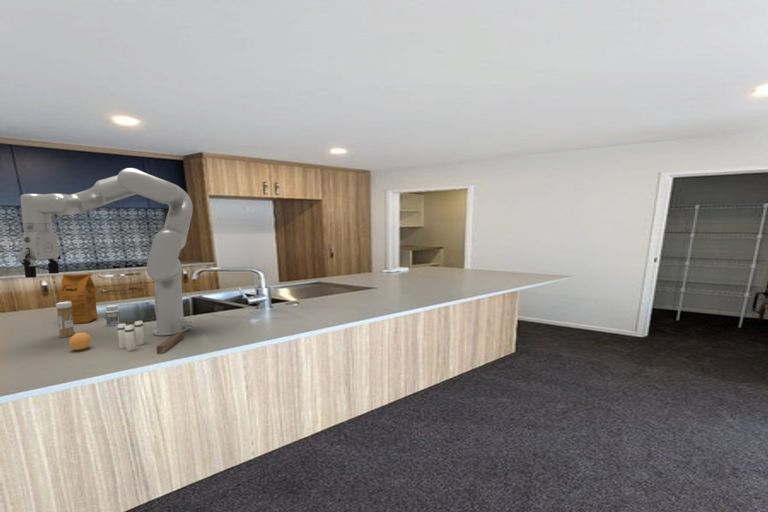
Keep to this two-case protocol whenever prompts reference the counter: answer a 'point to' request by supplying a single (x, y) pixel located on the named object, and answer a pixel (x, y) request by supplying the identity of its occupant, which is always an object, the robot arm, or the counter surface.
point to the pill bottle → (112, 315)
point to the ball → (80, 341)
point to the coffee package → (79, 296)
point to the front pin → (122, 335)
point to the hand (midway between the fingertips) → (42, 275)
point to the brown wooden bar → (169, 342)
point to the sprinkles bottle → (65, 319)
